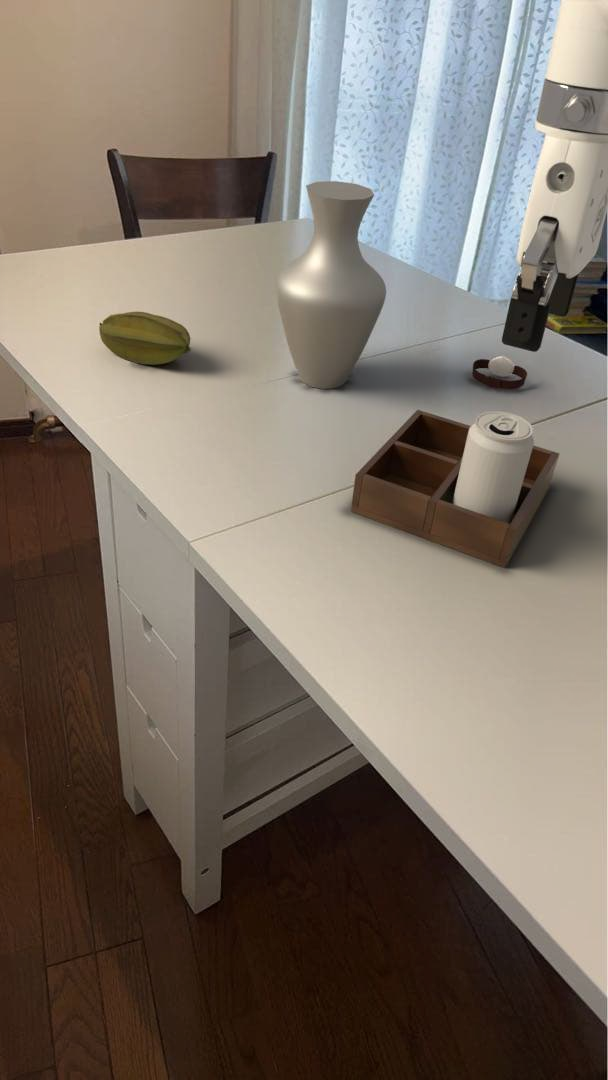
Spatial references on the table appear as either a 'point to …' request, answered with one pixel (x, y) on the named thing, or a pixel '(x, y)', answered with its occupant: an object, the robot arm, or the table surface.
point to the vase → (330, 289)
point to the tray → (443, 490)
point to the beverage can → (494, 464)
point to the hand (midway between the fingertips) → (535, 328)
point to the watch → (499, 373)
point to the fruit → (144, 337)
